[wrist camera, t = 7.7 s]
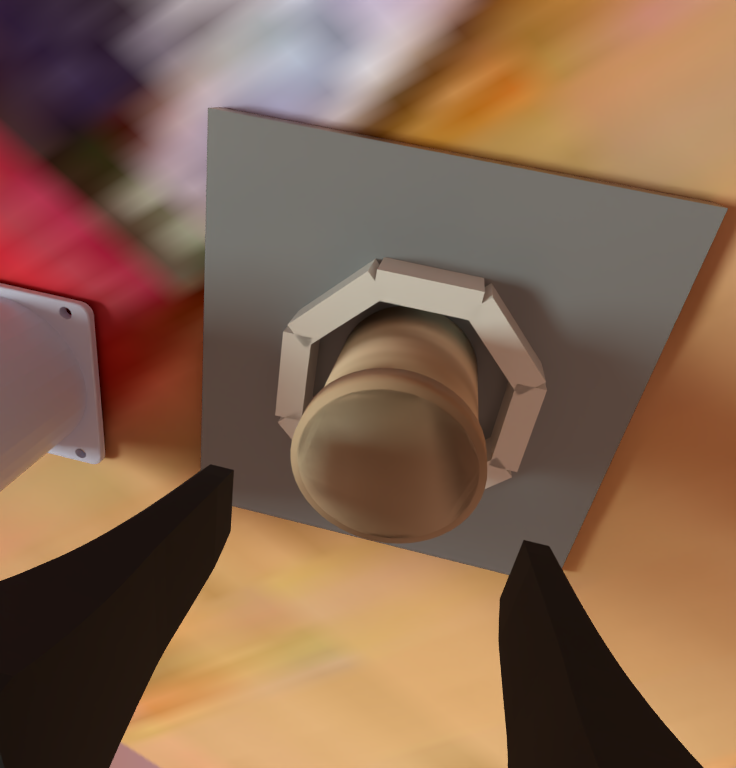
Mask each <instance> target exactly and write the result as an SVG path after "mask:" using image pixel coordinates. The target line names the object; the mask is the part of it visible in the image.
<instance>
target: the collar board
mask: <svg viewBox="0 0 736 768" xmlns="http://www.w3.org/2000/svg"><path fill="white" fill-rule="evenodd" d="M727 209H728V208H726V207H724V206H722V205H719V204H717V203H714V202H709V201H704V200H699V199H694V198H688V197H683V196H678V195H673V194H668V193H663V192H657V191H652V190H647V189H642V188H637V187H631V186H626V185H621V184H616V183H611V182H606V181H600V180H595V179H590V178H585V177H580V176H575V175H569V174H564V173H559V172H554V171H549V170H543V169H538V168H533V167H528V166H523V165H518V164H512V163H507V162H502V161H497V160H492V159H486V158H481V157H476V156H471V155H466V154H461V153H455V152H450V151H445V150H440V149H435V148H429V147H424V146H419V145H414V144H409V143H404V142H398V141H393V140H388V139H383V138H378V137H373V136H367V135H362V134H357V133H352V132H347V131H341V130H336V129H331V128H326V127H321V126H316V125H310V124H305V123H300V122H295V121H290V120H284V119H279V118H274V117H269V116H264V115H259V114H253V113H248V112H243V111H238V110H233V109H227V108H222V107H215V108H208V136H207V185H206V234H205V283H204V332H203V381H202V430H201V470H202V469H204V468H205V467H207V466H209V465H210V464H212V465H216V466H220V467H224V468H228V469H232V470H234V478H233V496H232V506H235V507H239V508H243V509H247V510H251V511H255V512H259V513H263V514H267V515H271V516H275V517H279V518H283V519H287V520H291V521H295V522H299V523H303V524H307V525H311V526H315V527H319V528H323V529H327V530H331V531H335V532H339V533H343V534H347V535H351V536H355V537H358V536H356V535H353V534H350V533H348V532H346V531H344V530H342V529H340V528H338V527H337V526H335V525H334V524H332V523H330V522H329V521H328V520H326V519H325V518H324V517H322V516H321V515H320V514H319V513H318V512H317V511H316V510H315V509H314V508H313V507H312V506H311V505H310V503H309V502H308V501H307V500H306V499H305V497H304V495H303V494H302V492H301V491H300V489H299V487H298V485H297V483H296V481H295V477H294V474H293V471H292V466H291V443H292V438H293V435H294V432H295V429H296V427H297V425H298V423H299V421H300V419H301V417H302V415H303V413H304V412H305V410H306V408H307V406H308V404H309V403H310V402H311V400H312V399H313V397H314V396H315V395H316V394H317V393H318V392H319V391H320V390H321V389H322V388H324V386H325V384H326V382H327V380H328V378H329V376H330V374H331V371H332V369H333V367H334V365H335V363H336V361H337V359H338V357H339V355H340V353H341V351H342V349H343V346H344V344H345V342H346V340H347V338H348V337H349V335H350V333H351V332H352V331H353V329H354V328H355V327H356V326H357V325H358V324H359V323H360V322H361V321H363V320H364V319H365V318H366V317H368V316H370V315H371V314H373V313H375V312H378V311H380V310H383V309H386V308H390V307H396V306H406V307H410V308H415V309H419V310H424V311H429V312H433V313H438V314H441V315H443V316H445V317H447V318H448V319H450V320H451V321H452V322H454V323H455V324H456V325H457V326H458V327H459V328H460V329H461V330H462V331H463V332H464V334H465V335H466V336H467V338H468V339H469V341H470V343H471V345H472V347H473V349H474V352H475V356H476V360H477V373H478V419H479V424H480V426H481V428H482V430H483V434H484V437H485V442H486V450H487V481H486V486H485V490H484V493H483V495H482V498H481V500H480V502H479V503H478V505H477V507H476V508H475V510H474V511H473V512H472V513H471V515H470V516H469V517H468V518H467V519H466V520H464V521H463V522H462V523H461V524H460V525H458V526H457V527H455V528H454V529H453V530H451V531H449V532H447V533H445V534H443V535H441V536H438V537H435V538H433V539H429V540H425V541H421V542H414V543H400V544H395V543H383V542H379V543H383V544H387V545H391V546H395V547H399V548H403V549H407V550H411V551H415V552H419V553H423V554H427V555H431V556H435V557H439V558H443V559H447V560H451V561H455V562H459V563H463V564H467V565H471V566H475V567H479V568H483V569H487V570H491V571H495V572H499V573H503V574H507V575H510V572H511V570H512V567H513V565H514V562H515V560H516V557H517V555H518V552H519V550H520V547H521V545H522V542H523V540H527V541H531V542H535V543H539V544H543V545H547V546H550V548H551V550H552V551H553V553H554V555H555V557H556V559H557V561H558V563H559V565H560V566H561V568H562V567H563V565H564V563H565V560H566V558H567V556H568V554H569V552H570V550H571V547H572V545H573V543H574V541H575V539H576V537H577V534H578V532H579V530H580V528H581V526H582V524H583V521H584V519H585V517H586V515H587V513H588V511H589V508H590V506H591V504H592V502H593V500H594V498H595V495H596V493H597V491H598V489H599V487H600V485H601V482H602V480H603V478H604V476H605V474H606V472H607V469H608V467H609V465H610V463H611V461H612V459H613V456H614V454H615V452H616V450H617V448H618V446H619V443H620V441H621V439H622V437H623V435H624V433H625V430H626V428H627V426H628V424H629V422H630V420H631V417H632V415H633V413H634V411H635V409H636V407H637V404H638V402H639V400H640V398H641V396H642V394H643V391H644V389H645V387H646V385H647V383H648V381H649V378H650V376H651V374H652V372H653V370H654V368H655V365H656V363H657V361H658V359H659V357H660V355H661V352H662V350H663V348H664V346H665V344H666V342H667V339H668V337H669V335H670V333H671V331H672V329H673V326H674V324H675V322H676V320H677V318H678V316H679V313H680V311H681V309H682V307H683V305H684V303H685V300H686V298H687V296H688V294H689V292H690V290H691V287H692V285H693V283H694V281H695V279H696V277H697V274H698V272H699V270H700V268H701V266H702V264H703V261H704V259H705V257H706V255H707V253H708V251H709V248H710V246H711V244H712V242H713V240H714V238H715V235H716V233H717V231H718V229H719V227H720V225H721V222H722V220H723V218H724V216H725V214H726V212H727ZM359 538H361V537H359ZM363 539H364V538H363ZM367 540H368V539H367ZM371 541H372V540H371ZM375 542H377V541H375Z"/></svg>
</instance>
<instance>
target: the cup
mask: <svg viewBox="0 0 736 768" xmlns="http://www.w3.org/2000/svg"><path fill="white" fill-rule="evenodd" d="M291 466H292V471H293V474H294V477H295V481H296V483H297V485H298V487H299V489H300V491H301V492H302V494H303V495H304V497H305V499H306V500H307V501H308V502H309V503H310V505H311V506H312V507H313V508H314V509H315V510H316V511H317V512H318V513H319V514H320V515H321V516H322V517H324V518H325V519H326V520H328V521H329V522H330V523H332V524H334V525H335V526H337V527H338V528H340V529H342V530H344V531H346V532H348V533H350V534H353V535H356V536H358V537H361V538H364V539H368V540H372V541H377V542H383V543H395V544H400V543H414V542H421V541H425V540H429V539H433V538H435V537H438V536H441V535H443V534H445V533H447V532H449V531H451V530H453V529H454V528H455V527H457V526H458V525H460V524H461V523H462V522H463V521H464V520H466V519H467V518H468V517H469V516H470V515H471V513H472V512H473V511H474V510H475V508H476V507H477V505H478V503H479V502H480V500H481V498H482V495H483V493H484V490H485V486H486V481H487V450H486V442H485V437H484V434H483V430H482V428H481V426H480V424H479V419H478V373H477V360H476V356H475V352H474V349H473V347H472V345H471V343H470V341H469V339H468V338H467V336H466V335H465V334H464V332H463V331H462V330H461V329H460V328H459V327H458V326H457V325H456V324H455V323H454V322H452V321H451V320H450V319H448V318H447V317H445V316H443V315H441V314H438V313H433V312H429V311H424V310H419V309H415V308H410V307H406V306H396V307H390V308H386V309H383V310H380V311H378V312H375V313H373V314H371V315H370V316H368V317H366V318H365V319H364V320H363V321H361V322H360V323H359V324H358V325H357V326H356V327H355V328H354V329H353V331H352V332H351V333H350V335H349V337H348V338H347V340H346V342H345V344H344V346H343V349H342V351H341V353H340V355H339V357H338V359H337V361H336V363H335V365H334V367H333V369H332V371H331V374H330V376H329V378H328V380H327V382H326V384H325V386H324V388H322V389H321V390H320V391H319V392H318V393H317V394H316V395H315V396H314V397H313V399H312V400H311V402H310V403H309V404H308V406H307V408H306V410H305V412H304V413H303V415H302V417H301V419H300V421H299V423H298V425H297V427H296V429H295V432H294V435H293V438H292V443H291Z"/></svg>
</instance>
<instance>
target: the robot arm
mask: <svg viewBox="0 0 736 768" xmlns="http://www.w3.org/2000/svg"><path fill="white" fill-rule="evenodd" d="M66 308H68V309H69V310H70V311H71V314H72V315H70V314H68V312H67V311H66ZM81 449H82V450H83V451H84V452H83V451H82V450H81ZM46 453H51V454H55V455H59V456H63V457H67V458H71V459H75V460H79V461H83V462H87V463H91V464H98V463H100V462H101V461H102V460H103V459H104V458H105V444H104V432H103V419H102V407H101V395H100V383H99V370H98V358H97V346H96V334H95V322H94V314H93V310H92V309H91V307H90V306H89V305H88V304H86V303H84V302H82V301H78V300H74V299H69V298H65V297H60V296H56V295H51V294H47V293H42V292H38V291H34V290H29V289H25V288H20V287H16V286H11V285H7V284H2V283H0V491H2V490H3V489H4V488H5V487H6V486H8V485H9V484H10V483H11V482H12V481H14V480H15V479H16V478H17V477H19V476H20V475H21V474H22V473H23V472H25V471H26V470H27V469H28V468H29V467H31V466H32V465H33V464H34V463H35V462H37V461H38V460H39V459H40V458H41V457H43V456H44V455H45V454H46ZM233 478H234V470H232V469H228V468H224V467H220V466H216V465H212V464H210V465H209V466H207V467H205V468H204V469H202V470H201V471H200V472H198V473H197V474H195V475H194V476H193V477H191V478H190V479H188V480H187V481H186V482H184V483H183V484H181V485H180V486H179V487H177V488H176V489H174V490H173V491H171V492H170V493H169V494H167V495H166V496H164V497H163V498H161V499H160V500H158V501H157V502H155V503H154V504H152V505H151V506H149V507H148V508H146V509H145V510H143V511H142V512H140V513H138V514H137V515H135V516H134V517H132V518H130V519H129V520H127V521H125V522H124V523H122V524H120V525H119V526H117V527H115V528H114V529H112V530H110V531H109V532H107V533H105V534H103V535H101V536H100V537H98V538H96V539H94V540H92V541H90V542H89V543H87V544H85V545H83V546H81V547H79V548H77V549H75V550H73V551H71V552H69V553H67V554H64V555H62V556H60V557H58V558H56V559H53V560H51V561H49V562H46V563H44V564H41V565H39V566H37V567H34V568H32V569H30V570H27V571H25V572H23V573H20V574H18V575H15V576H13V577H10V578H7V579H5V580H2V581H0V768H109V767H110V765H111V762H112V760H113V758H114V755H115V753H116V751H117V749H118V746H119V744H120V742H121V740H122V738H123V736H124V733H125V731H126V729H127V727H128V725H129V723H130V720H131V718H132V716H133V714H134V712H135V710H136V707H137V705H138V703H139V701H140V699H141V697H142V695H143V693H144V691H145V689H146V686H147V684H148V682H149V680H150V678H151V676H152V674H153V672H154V670H155V668H156V666H157V664H158V662H159V660H160V658H161V656H162V655H163V653H164V651H165V649H166V647H167V646H168V644H169V642H170V641H171V639H172V637H173V636H174V634H175V632H176V631H177V629H178V627H179V626H180V624H181V622H182V621H183V619H184V618H185V616H186V614H187V613H188V611H189V609H190V608H191V606H192V604H193V603H194V601H195V599H196V598H197V596H198V594H199V593H200V591H201V589H202V588H203V586H204V584H205V583H206V581H207V579H208V578H209V576H210V574H211V572H212V571H213V569H214V567H215V565H216V563H217V561H218V559H219V556H220V554H221V552H222V550H223V547H224V545H225V543H226V541H227V538H228V536H229V534H230V531H231V514H232V496H233ZM499 653H500V665H501V677H502V688H503V699H504V710H505V721H506V732H507V749H508V768H703V767H702V766H701V764H700V763H699V762H698V761H697V760H696V759H695V758H694V757H693V756H692V755H691V754H690V753H689V751H688V750H687V749H686V748H685V747H684V746H683V745H682V743H681V742H680V741H679V740H678V739H677V738H676V737H675V735H674V734H673V733H672V732H671V731H670V730H669V728H668V727H667V726H666V725H665V724H664V723H663V721H662V720H661V719H660V718H659V717H658V715H657V714H656V713H655V712H654V710H653V709H652V708H651V707H650V705H649V704H648V703H647V702H646V700H645V699H644V698H643V696H642V695H641V694H640V692H639V691H638V690H637V688H636V687H635V686H634V685H633V683H632V682H631V681H630V679H629V678H628V677H627V675H626V674H625V672H624V671H623V670H622V668H621V667H620V665H619V664H618V662H617V661H616V659H615V658H614V656H613V655H612V653H611V652H610V650H609V649H608V647H607V646H606V644H605V643H604V641H603V639H602V638H601V636H600V635H599V633H598V632H597V630H596V628H595V627H594V625H593V623H592V621H591V620H590V618H589V616H588V615H587V613H586V611H585V610H584V608H583V606H582V605H581V603H580V601H579V599H578V598H577V596H576V594H575V592H574V590H573V589H572V587H571V585H570V583H569V581H568V579H567V578H566V576H565V574H564V572H563V570H562V568H561V566H560V565H559V563H558V561H557V559H556V557H555V555H554V553H553V551H552V550H551V548H550V546H547V545H543V544H539V543H535V542H531V541H527V540H523V542H522V545H521V547H520V550H519V552H518V555H517V557H516V560H515V562H514V565H513V567H512V570H511V572H510V575H509V577H508V580H507V582H506V585H505V587H504V590H503V592H502V595H501V597H500V610H499Z"/></svg>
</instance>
